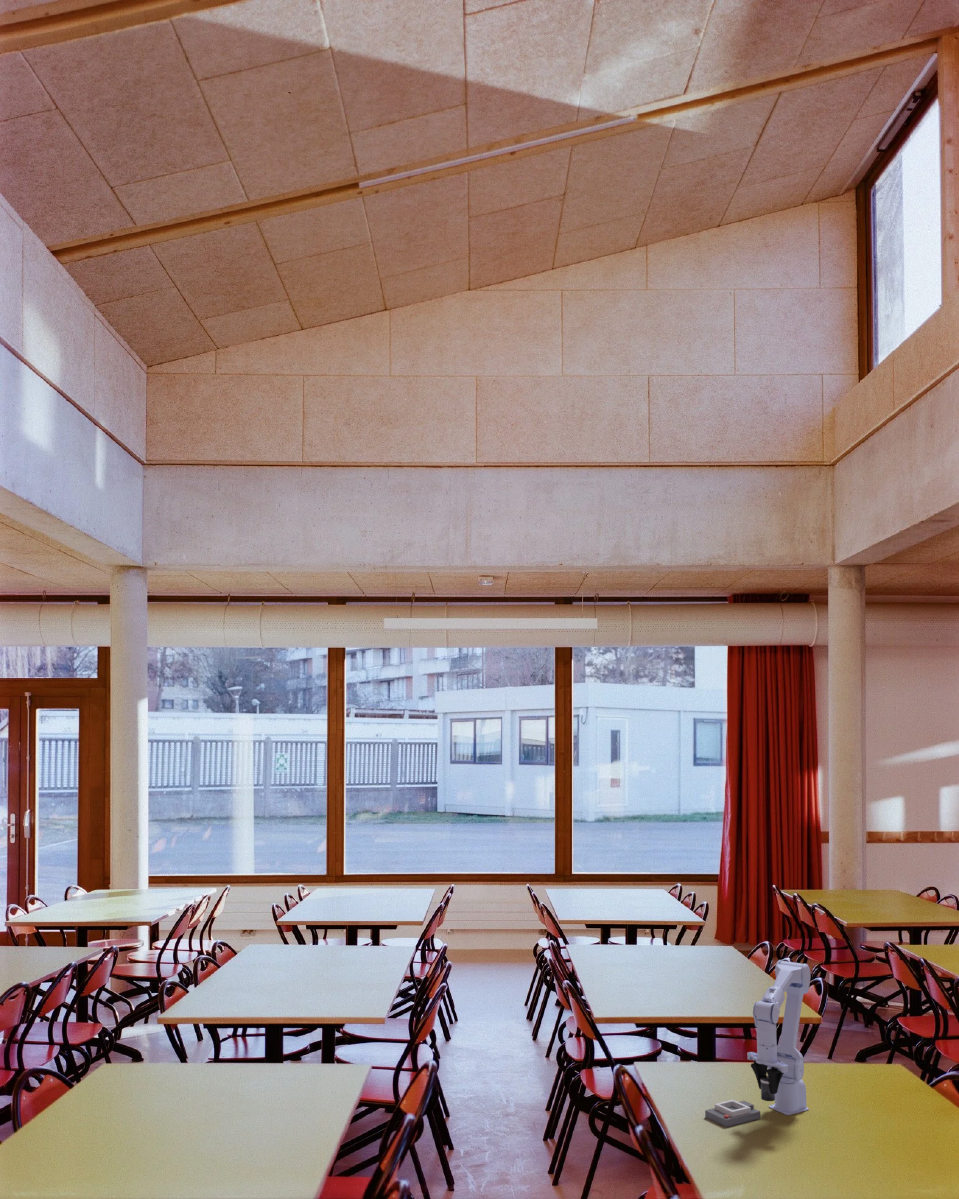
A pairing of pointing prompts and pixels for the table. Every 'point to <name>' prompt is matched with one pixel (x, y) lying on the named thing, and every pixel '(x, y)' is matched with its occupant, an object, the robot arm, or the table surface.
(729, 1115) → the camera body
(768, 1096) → the lens
